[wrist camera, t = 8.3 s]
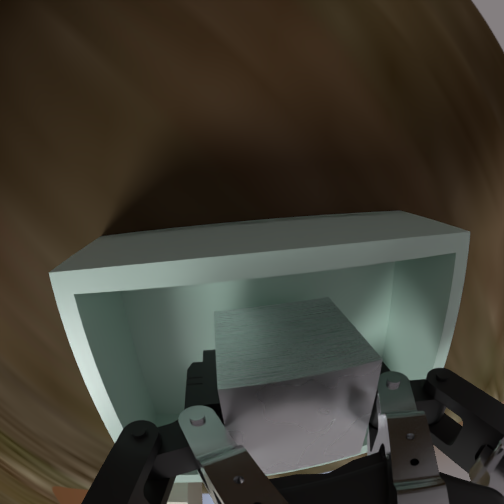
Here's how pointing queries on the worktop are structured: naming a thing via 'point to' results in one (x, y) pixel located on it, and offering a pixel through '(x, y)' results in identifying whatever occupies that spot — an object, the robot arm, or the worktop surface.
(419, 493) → the robot arm
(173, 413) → the tote
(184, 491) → the cream box
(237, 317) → the steel block
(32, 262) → the worktop surface
